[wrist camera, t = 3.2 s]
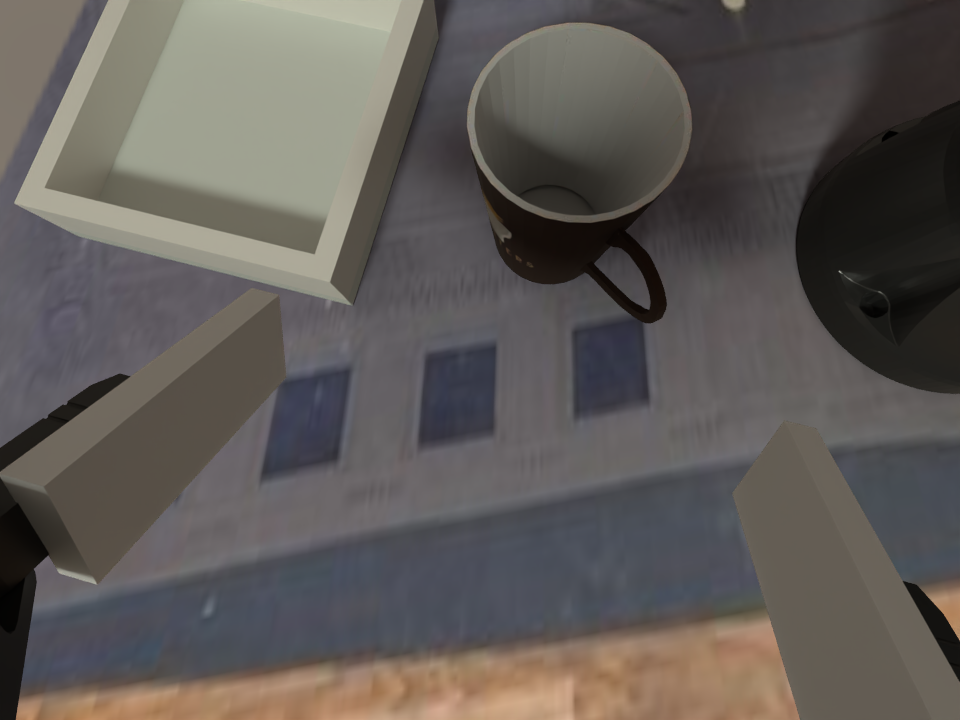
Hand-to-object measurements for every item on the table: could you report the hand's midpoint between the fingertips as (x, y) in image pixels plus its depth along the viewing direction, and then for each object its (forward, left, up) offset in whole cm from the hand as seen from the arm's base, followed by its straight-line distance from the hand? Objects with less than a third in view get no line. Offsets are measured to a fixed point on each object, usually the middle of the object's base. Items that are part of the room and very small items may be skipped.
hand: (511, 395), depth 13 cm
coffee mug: (0, -10, -14) cm, 17 cm away
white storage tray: (+19, -13, -14) cm, 27 cm away
